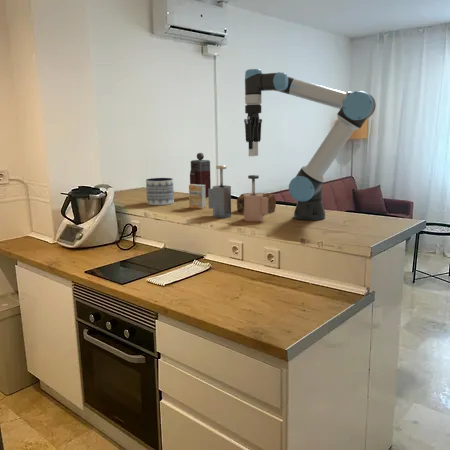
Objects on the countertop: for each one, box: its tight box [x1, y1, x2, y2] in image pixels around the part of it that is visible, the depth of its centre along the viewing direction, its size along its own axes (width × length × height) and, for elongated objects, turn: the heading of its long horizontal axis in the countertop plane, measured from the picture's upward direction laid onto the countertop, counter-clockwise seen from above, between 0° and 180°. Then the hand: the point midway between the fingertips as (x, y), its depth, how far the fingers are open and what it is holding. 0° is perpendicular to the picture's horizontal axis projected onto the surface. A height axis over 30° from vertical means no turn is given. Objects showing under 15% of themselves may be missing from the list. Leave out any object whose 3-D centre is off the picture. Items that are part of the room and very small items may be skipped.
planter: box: [145, 177, 175, 206], centre depth 276 cm, size 16×16×14 cm
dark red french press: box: [189, 152, 212, 198], centre depth 296 cm, size 9×11×28 cm
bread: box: [236, 192, 277, 214], centre depth 246 cm, size 19×11×10 cm, turn 58°
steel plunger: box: [215, 165, 227, 187], centre depth 231 cm, size 5×5×13 cm
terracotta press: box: [243, 193, 269, 222], centre depth 224 cm, size 9×12×12 cm
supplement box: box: [188, 184, 207, 210], centre depth 258 cm, size 8×5×13 cm, turn 68°
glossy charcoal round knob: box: [247, 174, 260, 196], centre depth 223 cm, size 5×5×12 cm
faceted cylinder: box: [207, 184, 232, 219], centre depth 234 cm, size 9×12×15 cm
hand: (253, 155), depth 219 cm, fingers open, 3 cm apart
